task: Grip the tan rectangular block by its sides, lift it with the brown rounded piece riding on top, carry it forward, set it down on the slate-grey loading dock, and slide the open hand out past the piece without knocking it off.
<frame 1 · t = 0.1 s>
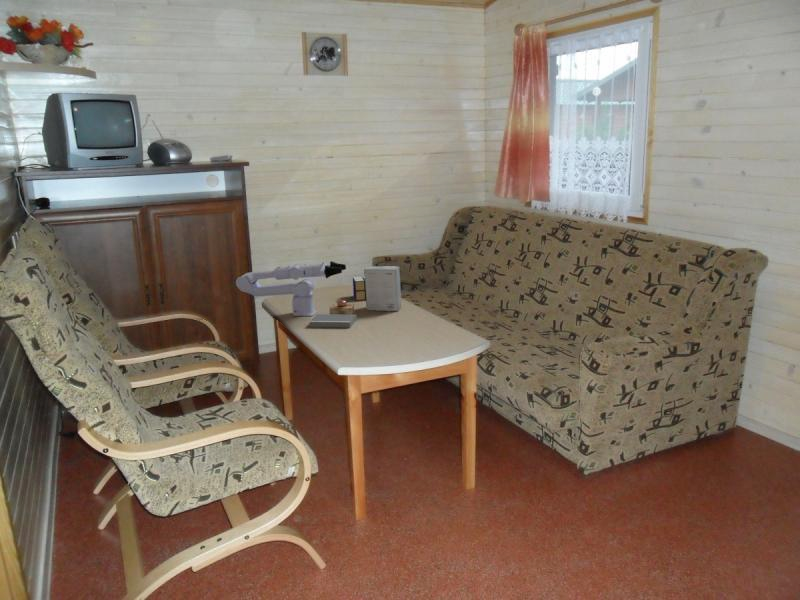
hand: (343, 268, 293), 22 cm above the table, tool horizontal, fingers open, 7 cm apart
tan rectangular block: (342, 316, 296), on the table, touching brown rounded piece
brown rounded piece: (341, 306, 295), point 5 cm above the table, touching tan rectangular block
loading dock: (333, 323, 285), on the table
hard drive box: (383, 309, 306), on the table
puzzle cube: (364, 298, 328), on the table
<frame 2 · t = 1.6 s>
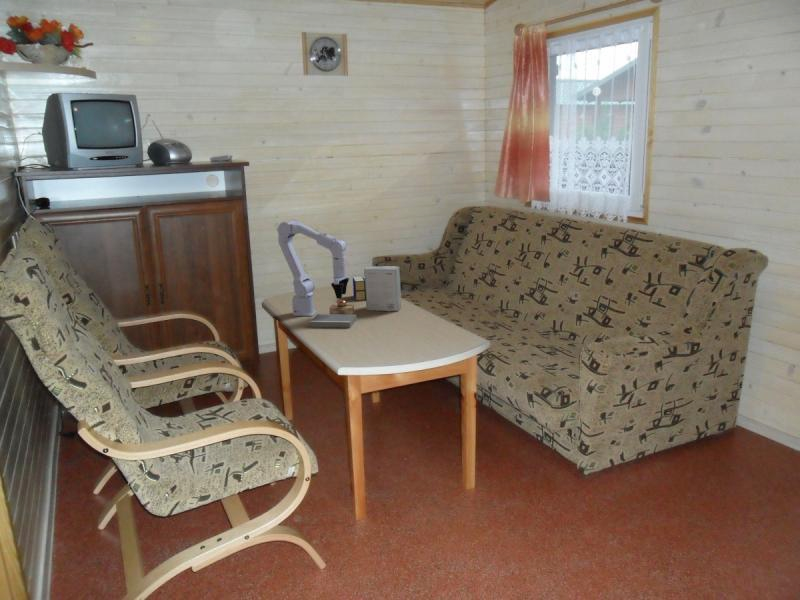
hand: (341, 296, 294), 9 cm above the table, tool pointing down, fingers open, 7 cm apart
nothing on the table moved.
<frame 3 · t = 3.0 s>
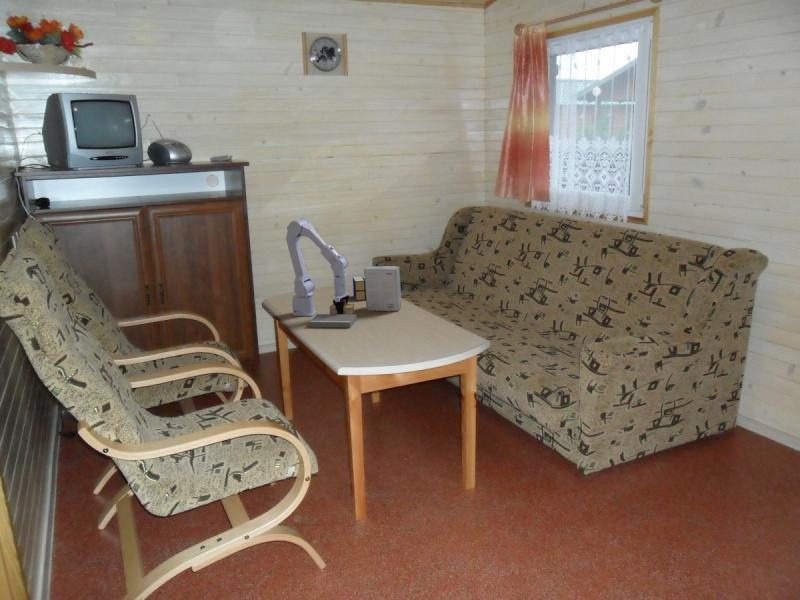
hand: (342, 313, 296), 1 cm above the table, tool pointing down, fingers closed on tan rectangular block, 6 cm apart
tan rectangular block: (342, 316, 296), on the table, touching brown rounded piece, gripper
everything else where it was.
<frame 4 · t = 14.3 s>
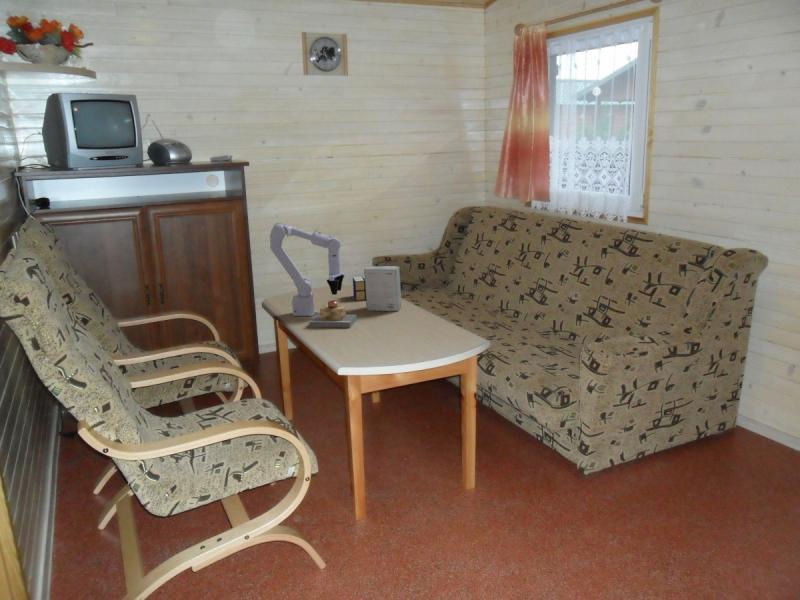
hand: (336, 292, 301), 9 cm above the table, tool pointing down, fingers open, 7 cm apart
tan rectangular block: (333, 318, 284), point 2 cm above the table, touching brown rounded piece, loading dock
brown rounded piece: (332, 307, 283), point 7 cm above the table, touching tan rectangular block
everything else where it was.
at the end: tan rectangular block inside the target area on the loading dock (0.1 cm from its centre), point 2.5 cm above the loading dock's base; brown rounded piece 0.1 cm off-centre on the tan rectangular block, point 5.0 cm above the tan rectangular block's base; the gripper is holding nothing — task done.
